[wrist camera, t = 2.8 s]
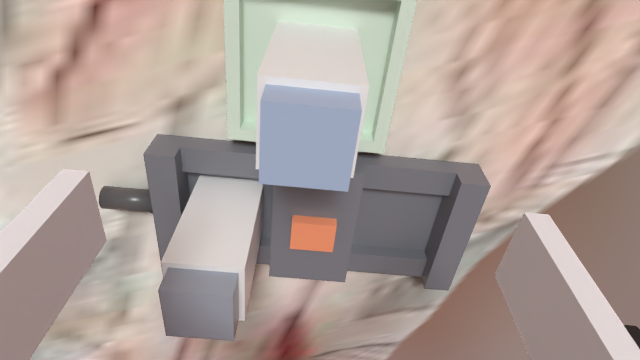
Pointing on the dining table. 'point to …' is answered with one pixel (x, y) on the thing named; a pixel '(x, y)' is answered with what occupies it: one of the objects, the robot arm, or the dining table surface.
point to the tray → (329, 10)
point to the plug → (310, 106)
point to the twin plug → (212, 259)
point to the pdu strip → (326, 211)
